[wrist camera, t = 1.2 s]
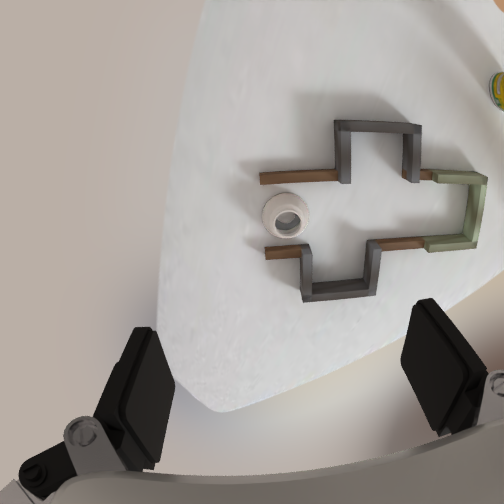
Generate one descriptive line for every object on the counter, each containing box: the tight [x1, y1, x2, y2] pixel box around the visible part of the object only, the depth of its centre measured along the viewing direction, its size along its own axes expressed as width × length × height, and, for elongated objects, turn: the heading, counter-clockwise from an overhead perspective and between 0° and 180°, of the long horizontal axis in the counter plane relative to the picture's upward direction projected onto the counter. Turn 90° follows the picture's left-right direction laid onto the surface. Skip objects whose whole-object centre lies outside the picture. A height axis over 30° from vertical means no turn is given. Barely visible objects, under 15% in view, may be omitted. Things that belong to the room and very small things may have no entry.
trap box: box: [259, 120, 488, 303], centre depth 32 cm, size 20×28×2 cm
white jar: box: [262, 193, 309, 238], centre depth 33 cm, size 5×3×5 cm
